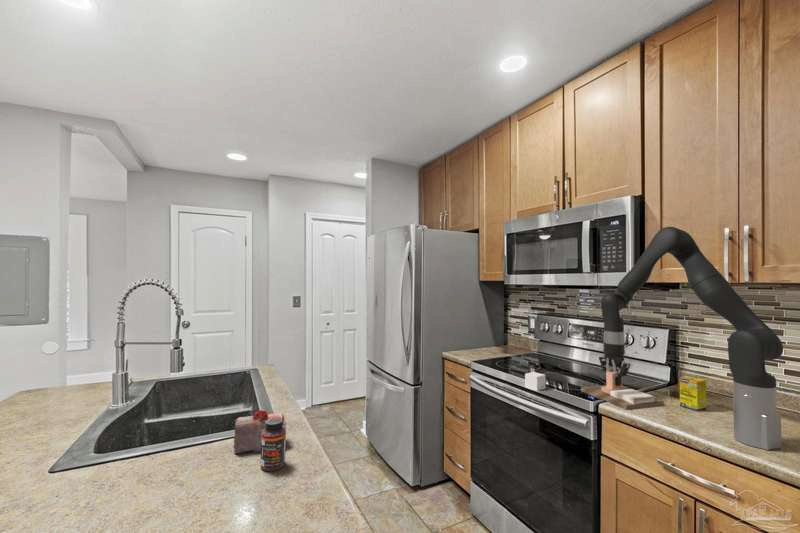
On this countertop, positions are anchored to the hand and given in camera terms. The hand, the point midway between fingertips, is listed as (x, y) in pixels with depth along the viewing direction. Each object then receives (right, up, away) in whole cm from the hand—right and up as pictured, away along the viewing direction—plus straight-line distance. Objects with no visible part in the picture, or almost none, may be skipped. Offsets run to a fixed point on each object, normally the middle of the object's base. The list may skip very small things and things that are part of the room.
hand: (614, 384), depth 150 cm
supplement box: (+22, -5, -14) cm, 26 cm away
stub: (0, -3, -1) cm, 3 cm away
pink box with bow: (-127, -3, -47) cm, 136 cm away
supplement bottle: (-120, -3, -57) cm, 133 cm away
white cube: (-29, -5, +9) cm, 31 cm away
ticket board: (+1, -5, -3) cm, 5 cm away
